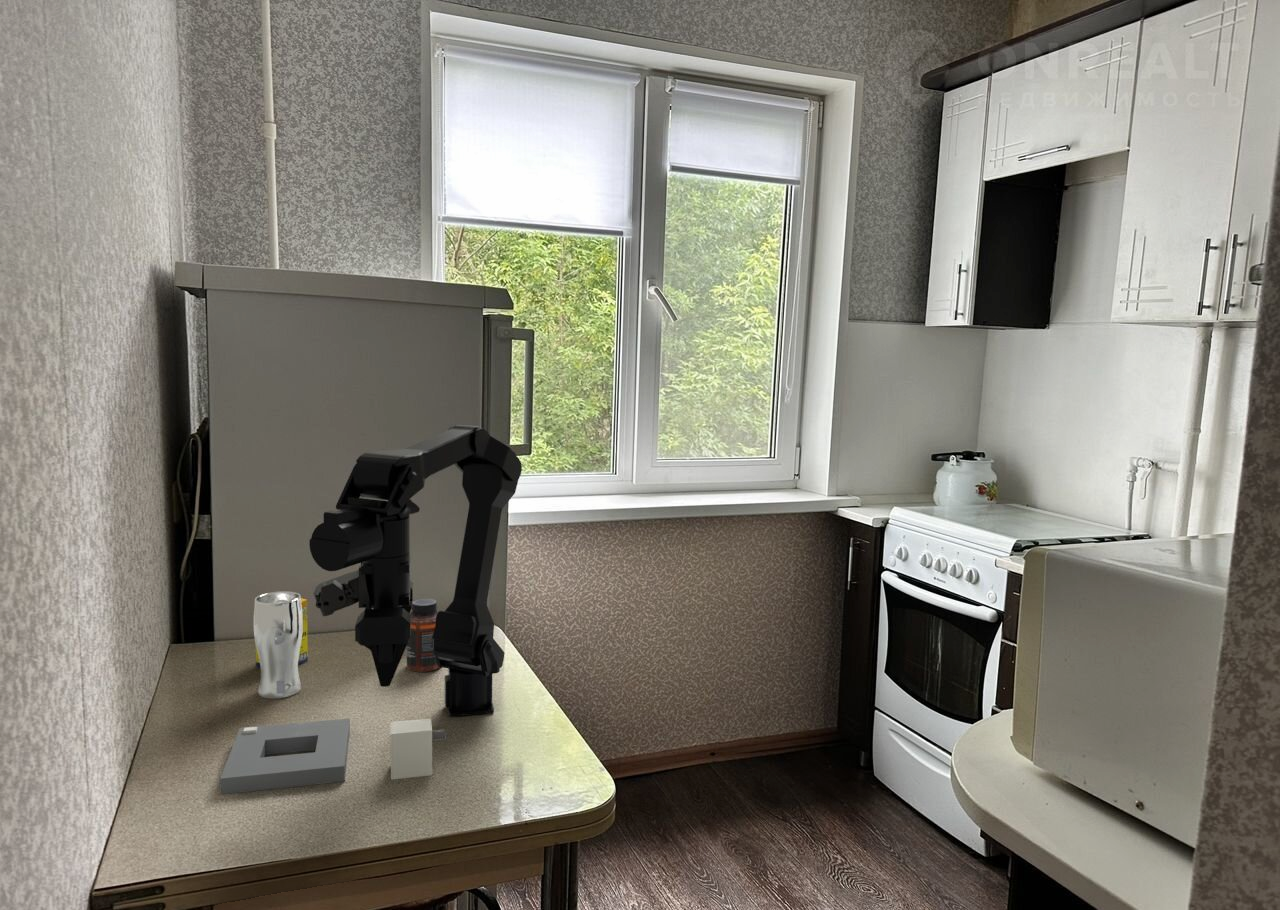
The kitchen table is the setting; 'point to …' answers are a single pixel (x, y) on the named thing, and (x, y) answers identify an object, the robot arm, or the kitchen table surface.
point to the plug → (412, 748)
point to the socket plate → (287, 756)
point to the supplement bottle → (422, 636)
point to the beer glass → (278, 642)
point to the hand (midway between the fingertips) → (387, 672)
